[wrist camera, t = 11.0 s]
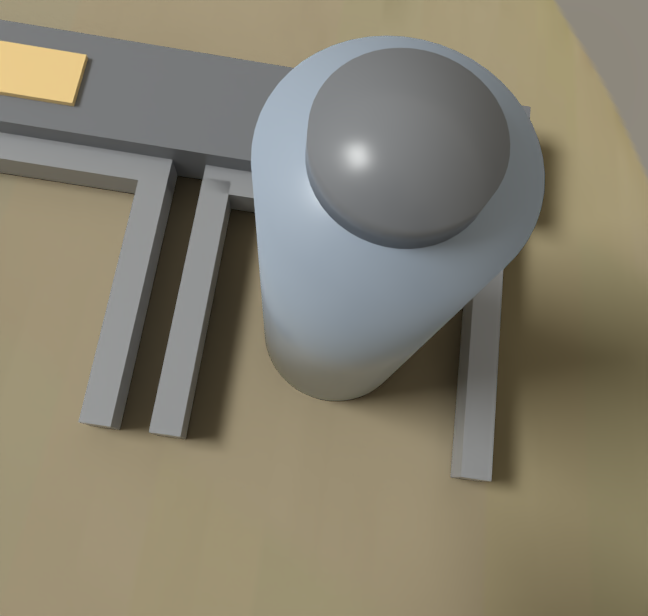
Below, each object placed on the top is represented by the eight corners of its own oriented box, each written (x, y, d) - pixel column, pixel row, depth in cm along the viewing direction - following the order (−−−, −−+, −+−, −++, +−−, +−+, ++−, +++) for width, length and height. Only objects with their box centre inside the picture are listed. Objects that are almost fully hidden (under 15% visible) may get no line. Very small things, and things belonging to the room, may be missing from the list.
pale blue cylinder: (302, 425, 21) (339, 342, 9) (241, 298, 22) (197, 61, 10) (429, 363, 22) (626, 207, 9) (364, 244, 23) (467, -35, 11)
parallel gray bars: (-230, 379, 20) (-290, 367, 18) (-94, 37, 24) (-131, -6, 22) (490, 483, 21) (515, 483, 19) (510, 136, 25) (532, 103, 22)
